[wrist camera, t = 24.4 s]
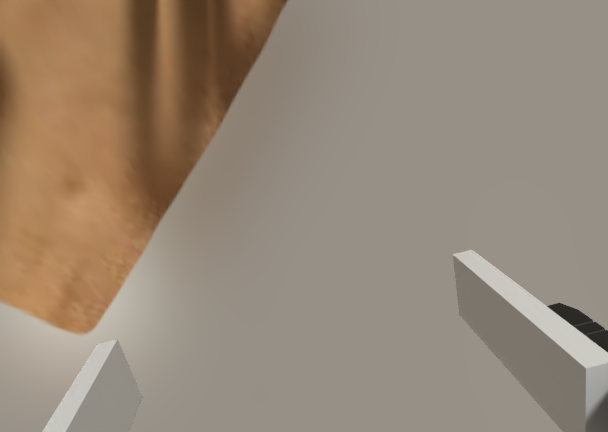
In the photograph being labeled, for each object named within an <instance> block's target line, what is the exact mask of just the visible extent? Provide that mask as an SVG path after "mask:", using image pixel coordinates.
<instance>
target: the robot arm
mask: <svg viewBox="0 0 608 432" xmlns="http://www.w3.org/2000/svg"><path fill="white" fill-rule="evenodd" d="M453 259H454V269H455V278H456V287H457V296H458V305H459V315H460V316H461V317H462V318H463V319H464V320H465V321H466V323H467V324H468V325H469V326H470V327H471V328H472V329H473V331H474V332H475V333H476V334H477V335H478V336H479V337H480V338H481V340H482V341H483V342H484V343H485V344H486V345H487V346H488V348H489V349H490V350H491V351H492V352H493V353H494V354H495V355H496V357H497V358H498V359H499V360H500V361H501V362H502V363H503V364H504V366H505V367H506V368H507V369H508V370H509V371H510V372H511V373H512V375H513V376H514V377H515V378H516V379H517V380H518V381H519V382H520V383H521V385H522V386H523V387H524V388H525V389H526V390H527V391H528V392H529V394H530V395H531V396H532V397H533V398H534V399H535V401H536V402H537V403H538V404H539V405H540V406H541V407H542V408H543V410H544V411H545V412H546V413H547V414H548V415H549V416H550V417H551V419H552V420H553V421H554V422H555V423H556V424H557V425H558V426H559V428H560V429H561V430H562V431H563V432H608V331H607V330H605V329H604V328H603V327H602V326H601V325H599V324H598V323H596V322H593V321H592V319H590V318H589V317H588V316H586V315H585V314H583V313H582V312H580V311H579V310H577V309H574V308H572V307H569V306H566V305H563V304H561V303H557V304H553V305H550V306H545V305H544V304H543V303H542V302H540V301H539V300H538V299H536V298H535V297H534V296H532V295H531V294H530V293H528V292H527V291H526V290H524V289H523V288H522V287H520V286H519V285H518V284H516V283H515V282H514V281H512V280H511V279H510V278H509V277H507V276H506V275H505V274H503V273H502V272H500V271H499V270H498V269H497V268H495V267H494V266H493V265H491V264H490V263H489V262H487V261H486V260H485V259H484V258H482V257H481V256H480V255H478V254H477V253H476V252H474V251H473V250H469V251H465V252H461V253H457V254H453ZM142 397H143V396H142V394H141V392H140V390H139V387H138V385H137V382H136V380H135V378H134V376H133V373H132V371H131V369H130V367H129V364H128V362H127V360H126V358H125V356H124V353H123V351H122V349H121V346H120V344H119V342H118V340H113V341H109V342H105V343H101V344H97V346H96V347H95V349H94V351H93V352H92V354H91V355H90V357H89V358H88V360H87V362H86V363H85V365H84V366H83V368H82V369H81V371H80V373H79V375H78V376H77V377H76V379H75V381H74V382H73V384H72V385H71V387H70V389H69V390H68V392H67V393H66V395H65V396H64V398H63V400H62V401H61V403H60V404H59V406H58V408H57V409H56V411H55V413H54V414H53V416H52V417H51V419H50V420H49V422H48V424H47V426H46V427H45V428H44V430H43V431H42V432H130V429H131V427H132V424H133V421H134V418H135V416H136V413H137V410H138V408H139V405H140V403H141V400H142Z"/></svg>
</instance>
